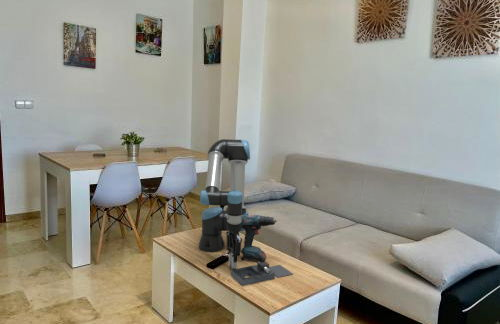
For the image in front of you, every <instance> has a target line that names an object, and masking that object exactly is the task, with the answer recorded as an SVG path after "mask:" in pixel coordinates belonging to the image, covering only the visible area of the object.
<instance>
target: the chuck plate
mask: <svg viewBox="0 0 500 324" xmlns="http://www.w3.org/2000/svg"><path fill="white" fill-rule="evenodd" d="M269 267H270V264H269V263H268V262H266V261H265V262H262V263H260V262H256V264H253V265H249V266H248V265H247V266H244V267H239V268H238V267H237V268H236V269H233V270H230V276H231V277H232V278H233V279H234V280H235V281H236V282H237V283H238V284H240V285H241V286H242V287H244V286H248V285H253V284H259V283H261V282H265V281H266V282H267V281H270V280H275V279H276V276H275V273H274V272H273V271H272V270H270V269H269Z"/></svg>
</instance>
